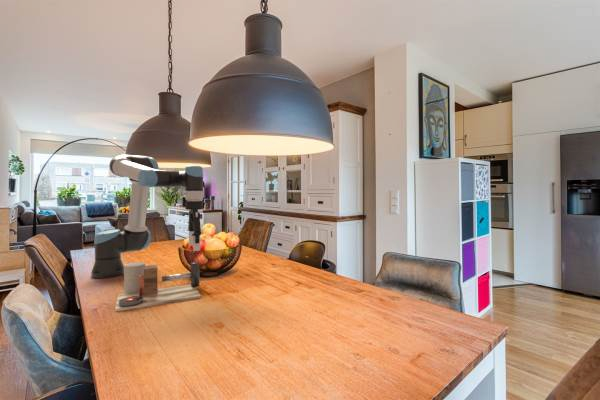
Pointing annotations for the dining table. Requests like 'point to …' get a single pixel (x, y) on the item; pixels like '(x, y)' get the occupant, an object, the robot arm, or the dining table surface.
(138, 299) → the handwheel
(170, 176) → the robot arm
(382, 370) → the dining table surface
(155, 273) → the block
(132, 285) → the beige solid cylinder
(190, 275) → the t-handle
